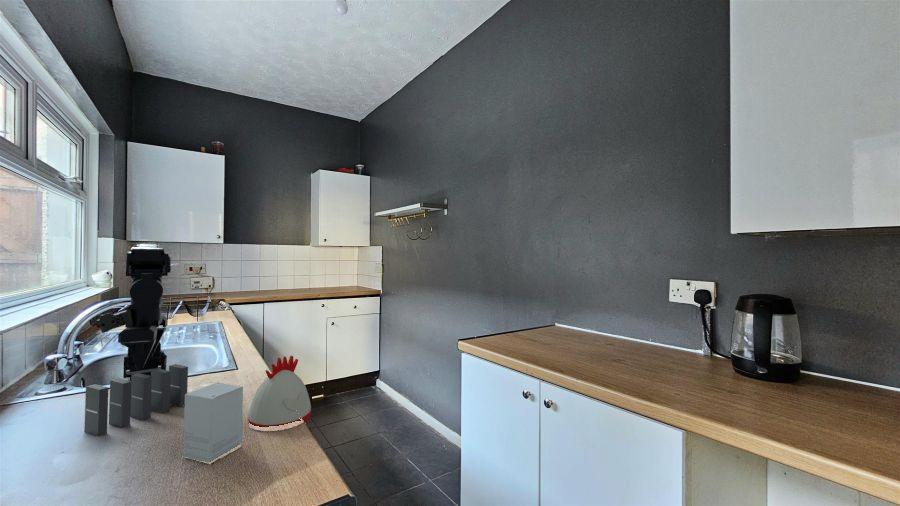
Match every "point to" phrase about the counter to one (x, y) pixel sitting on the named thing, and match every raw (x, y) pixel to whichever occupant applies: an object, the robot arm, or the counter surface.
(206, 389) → the supplement box
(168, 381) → the domino
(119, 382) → the domino
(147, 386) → the domino
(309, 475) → the counter surface
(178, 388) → the domino
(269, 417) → the grey chicken figure
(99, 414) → the domino
